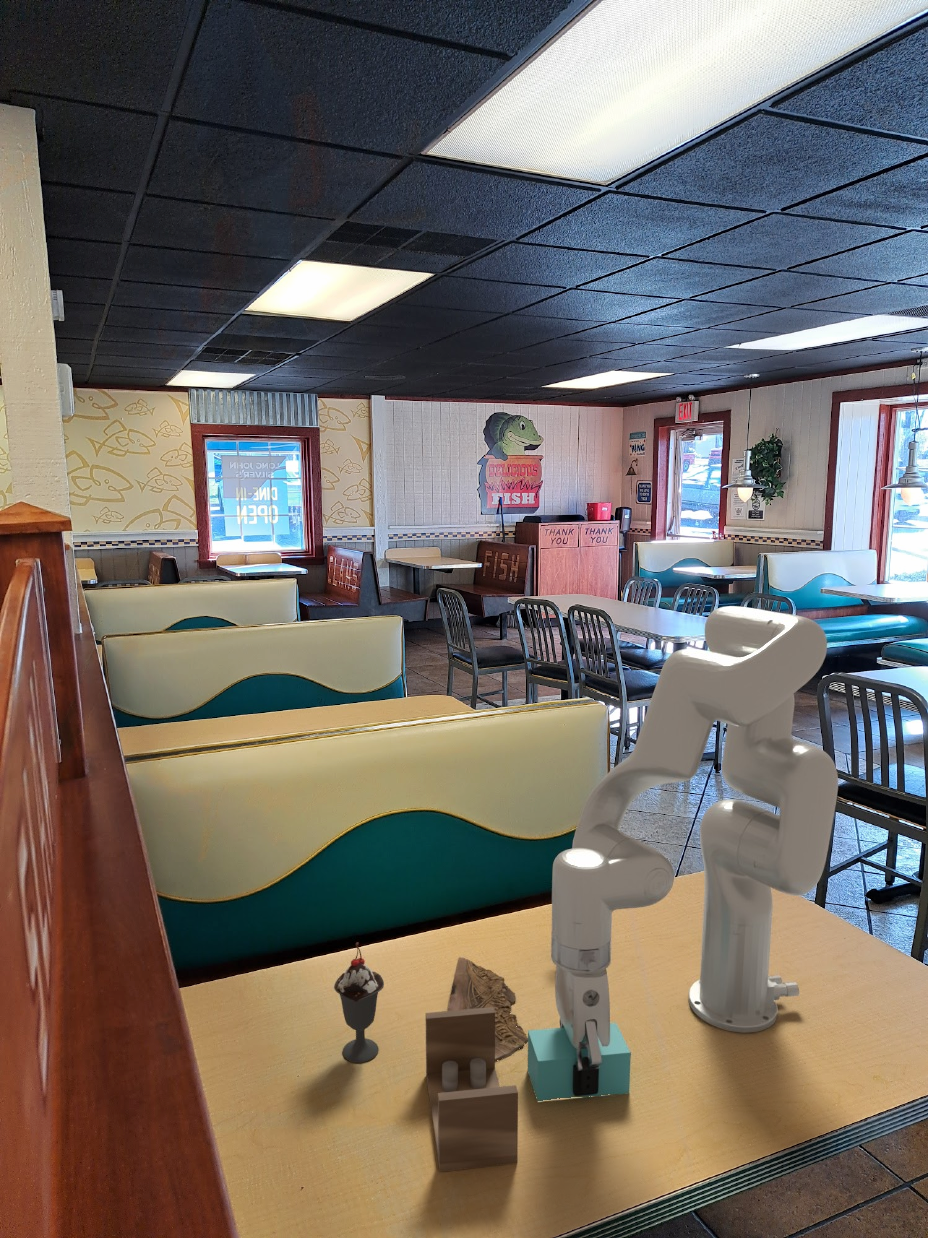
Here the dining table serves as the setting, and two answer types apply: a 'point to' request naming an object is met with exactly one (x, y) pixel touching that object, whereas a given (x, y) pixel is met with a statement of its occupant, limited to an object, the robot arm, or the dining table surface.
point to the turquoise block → (557, 1057)
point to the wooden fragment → (488, 1003)
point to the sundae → (359, 1007)
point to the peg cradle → (468, 1092)
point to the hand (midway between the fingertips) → (578, 1074)
